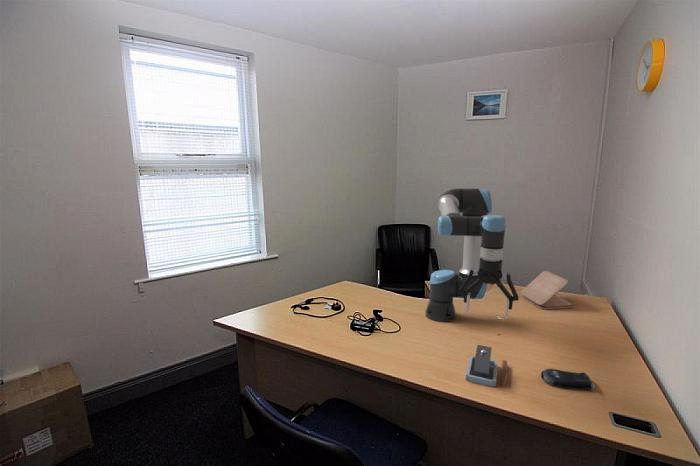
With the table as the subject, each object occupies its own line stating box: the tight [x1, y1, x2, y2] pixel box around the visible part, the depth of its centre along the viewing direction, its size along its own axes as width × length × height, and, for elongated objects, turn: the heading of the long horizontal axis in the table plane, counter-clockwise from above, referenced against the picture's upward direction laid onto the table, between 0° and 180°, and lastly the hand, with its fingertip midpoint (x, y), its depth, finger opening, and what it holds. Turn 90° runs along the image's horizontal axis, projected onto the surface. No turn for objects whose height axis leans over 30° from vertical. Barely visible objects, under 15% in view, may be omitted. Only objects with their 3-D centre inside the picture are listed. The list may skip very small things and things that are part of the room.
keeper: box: [465, 355, 499, 387], centre depth 134 cm, size 10×15×2 cm, turn 156°
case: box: [520, 270, 575, 310], centre depth 201 cm, size 20×21×16 cm
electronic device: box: [539, 368, 595, 392], centre depth 128 cm, size 9×6×15 cm
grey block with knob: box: [474, 344, 492, 379], centre depth 133 cm, size 10×5×9 cm, turn 156°
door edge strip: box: [500, 360, 508, 386], centre depth 133 cm, size 2×14×2 cm, turn 156°
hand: (486, 313), depth 134 cm, fingers open, 13 cm apart
